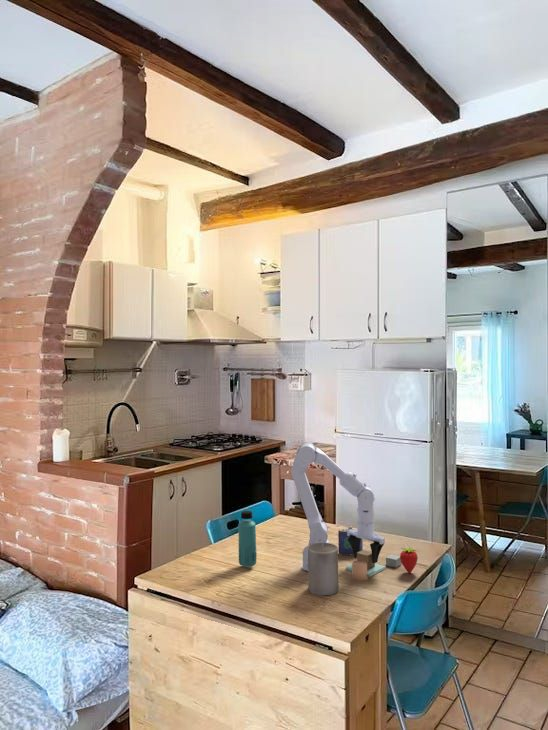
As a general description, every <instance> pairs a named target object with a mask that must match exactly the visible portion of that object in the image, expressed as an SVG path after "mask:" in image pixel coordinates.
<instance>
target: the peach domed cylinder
mask: <svg viewBox="0 0 548 730" xmlns="http://www.w3.org/2000/svg"><path fill="white" fill-rule="evenodd" d="M351 565H352V571H351V573H352V574H351V577H352V580H354V581H357V582H363V581H366V580H368V576H367V563H366V562H364V561H357V560H354V561H352V562H351Z"/></svg>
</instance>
